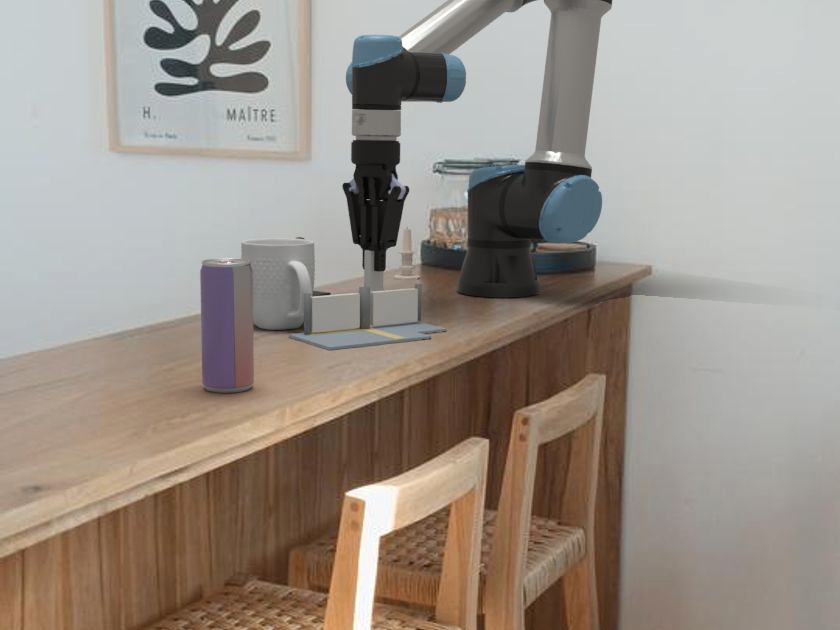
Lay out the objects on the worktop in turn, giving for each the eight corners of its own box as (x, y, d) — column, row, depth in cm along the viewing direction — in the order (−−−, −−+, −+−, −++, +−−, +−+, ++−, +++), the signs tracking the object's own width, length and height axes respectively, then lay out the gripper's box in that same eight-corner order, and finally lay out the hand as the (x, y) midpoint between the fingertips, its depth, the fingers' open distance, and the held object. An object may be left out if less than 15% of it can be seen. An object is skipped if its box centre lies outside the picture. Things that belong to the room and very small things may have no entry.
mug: (340, 332, 179) (340, 245, 177) (273, 339, 173) (273, 248, 171) (293, 318, 191) (293, 236, 189) (229, 324, 185) (228, 239, 183)
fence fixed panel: (366, 330, 182) (366, 286, 181) (371, 331, 180) (372, 287, 179) (301, 336, 175) (301, 291, 174) (307, 338, 174) (307, 293, 173)
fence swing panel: (418, 319, 187) (418, 283, 186) (422, 320, 186) (423, 284, 185) (369, 324, 182) (369, 287, 181) (373, 325, 181) (373, 288, 180)
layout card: (416, 323, 188) (416, 320, 188) (461, 335, 178) (461, 332, 178) (288, 337, 175) (288, 334, 175) (329, 350, 165) (329, 346, 165)
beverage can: (209, 395, 138) (207, 264, 135) (197, 384, 143) (194, 259, 141) (260, 391, 140) (258, 262, 138) (246, 381, 145) (244, 257, 143)
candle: (395, 276, 244) (395, 225, 243) (421, 277, 244) (421, 225, 242) (392, 279, 239) (392, 227, 238) (418, 280, 239) (419, 227, 237)
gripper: (329, 137, 187) (328, 289, 190) (387, 139, 177) (384, 298, 181) (365, 138, 192) (363, 285, 195) (423, 139, 183) (420, 294, 186)
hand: (373, 291), depth 188 cm, fingers closed
